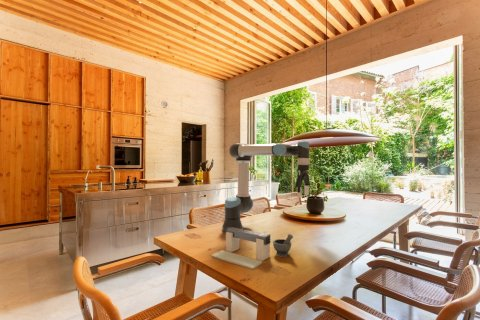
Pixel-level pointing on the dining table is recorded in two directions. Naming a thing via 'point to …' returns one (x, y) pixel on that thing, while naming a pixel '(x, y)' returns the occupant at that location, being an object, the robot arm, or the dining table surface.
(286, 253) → the mortar and pestle
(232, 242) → the beige bridge block
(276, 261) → the dining table surface
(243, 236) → the rail
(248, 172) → the robot arm
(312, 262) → the dining table surface
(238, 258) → the mat
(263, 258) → the beige u-shaped block
